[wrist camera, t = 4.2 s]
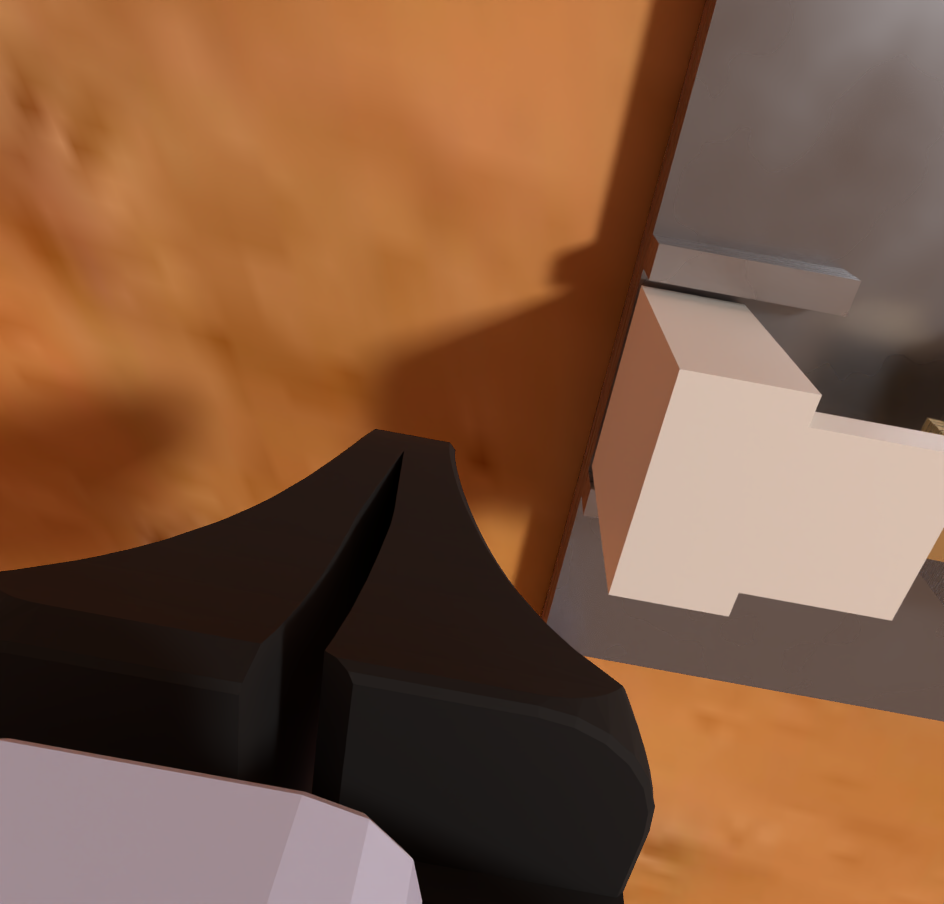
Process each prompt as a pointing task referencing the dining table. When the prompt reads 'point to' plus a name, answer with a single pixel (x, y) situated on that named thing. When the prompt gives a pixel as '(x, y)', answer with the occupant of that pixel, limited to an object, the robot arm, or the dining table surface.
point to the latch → (752, 474)
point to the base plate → (796, 312)
